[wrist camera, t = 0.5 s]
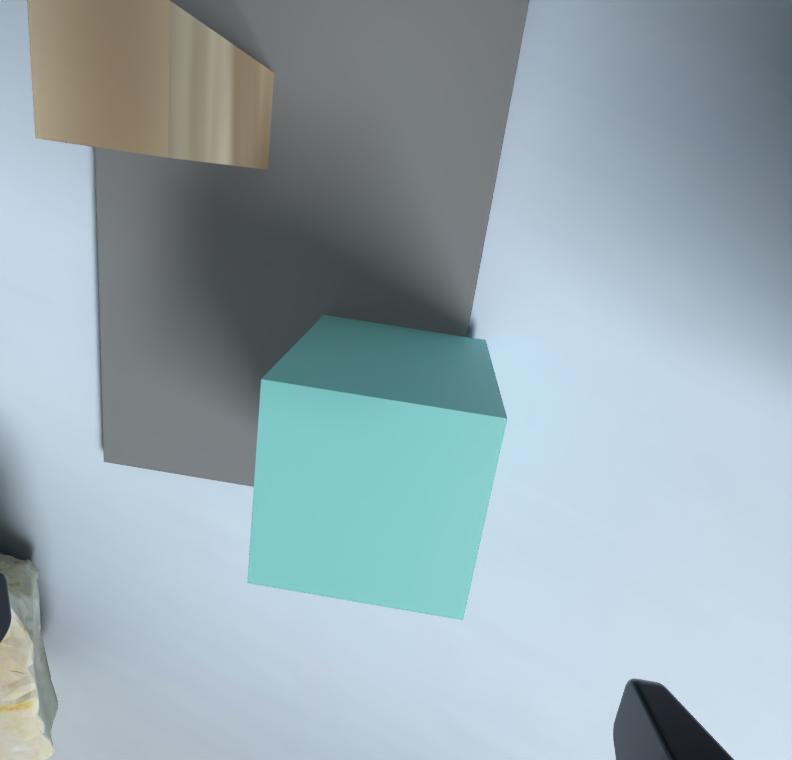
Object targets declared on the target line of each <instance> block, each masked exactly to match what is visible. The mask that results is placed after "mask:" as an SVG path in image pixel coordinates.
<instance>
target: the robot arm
mask: <svg viewBox="0 0 792 760" xmlns="http://www.w3.org/2000/svg"><path fill="white" fill-rule="evenodd" d="M11 619H12V614H11V607H10V599H9V592H8V584H7V579H6V577H5V576H4V574H3V573H1V572H0V643H1V642H2V640H3V639H4V637H5V636H6V634H7V632H8V630H9V627H10V624H11ZM613 739H614V747H615V754H616V760H734V759H733V758H732V757H731V756H730V755H729V754H728V753H727V752H726V751H725V750H724V749H723V747H722V746H721V745H720V744H719V743H718V742H717V741H716V740H715V739H714V738H713V737H712V736H711V735H710V734H709V733H708V732H707V731H706V730H705V728H704V727H703V726H702V725H701V724H700V723H699V722H698V721H697V720H696V719H695V718H694V717H693V716H692V715H691V714H690V713H689V712H688V711H687V709H686V708H685V707H684V706H683V705H682V704H681V703H680V702H679V701H678V700H677V699H676V698H675V697H674V696H673V695H672V694H671V693H670V692H669V690H668V689H667V688H665V687H664V686H663V685H662V684H660V683H657V682H653V681H647V680H641V679H631V680H629V681H628V682H627V684H626V686H625V689H624V693H623V696H622V699H621V702H620V706H619V709H618V712H617V715H616V718H615V722H614V728H613Z"/></svg>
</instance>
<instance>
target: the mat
mask: <svg viewBox="0 0 792 760" xmlns="http://www.w3.org/2000/svg"><path fill="white" fill-rule="evenodd" d="M170 1H171V2H173V3H174V4H176V5H177V6H179V7H180V8H181V9H183V10H184V11H186V12H187V13H189V14H190V15H192V16H193V17H194V18H196V19H197V20H199V21H200V22H202V23H203V24H205V25H206V26H207V27H209V28H210V29H212V30H213V31H215V32H216V33H217V34H219V35H220V36H222V37H223V38H225V39H226V40H228V41H229V42H230V43H232V44H233V45H235V46H236V47H238V48H239V49H241V50H242V51H243V52H245V53H246V54H248V55H249V56H251V57H252V58H253V59H255V60H256V61H258V62H259V63H261V64H262V65H264V66H265V67H266V68H268V69H269V70H271V71H272V72H274V81H273V97H272V113H271V129H270V144H269V160H268V170H266V169H257V168H249V167H241V166H232V165H224V164H216V163H207V162H199V161H191V160H182V159H174V158H166V157H160V156H153V155H146V154H139V153H133V152H126V151H119V150H112V149H106V148H99V147H95V167H96V202H97V237H98V272H99V308H100V343H101V378H102V414H103V449H104V462H109V463H115V464H121V465H127V466H133V467H139V468H145V469H151V470H157V471H163V472H169V473H175V474H181V475H187V476H193V477H199V478H205V479H211V480H217V481H223V482H229V483H235V484H241V485H247V486H253V487H254V478H255V463H256V448H257V433H258V419H259V404H260V389H261V379H262V378H263V377H264V376H265V375H266V374H267V373H268V372H269V371H270V370H271V369H272V368H273V367H274V366H275V364H276V363H277V362H278V361H279V360H280V359H281V358H282V357H283V356H284V355H285V354H286V353H287V352H288V351H289V350H290V349H291V348H292V347H293V346H294V345H295V344H296V343H297V342H298V341H299V340H300V339H301V338H302V337H303V336H304V335H305V334H306V333H307V332H308V331H309V330H310V329H311V327H312V326H313V325H314V324H315V323H316V322H317V321H318V320H319V319H320V318H321V317H322V316H323V315H328V316H334V317H341V318H347V319H354V320H360V321H366V322H373V323H379V324H386V325H392V326H398V327H405V328H411V329H418V330H424V331H431V332H437V333H443V334H450V335H456V336H463V337H467V333H468V327H469V322H470V316H471V311H472V306H473V300H474V295H475V289H476V284H477V279H478V273H479V268H480V262H481V257H482V252H483V246H484V241H485V235H486V230H487V225H488V219H489V214H490V209H491V203H492V198H493V192H494V187H495V182H496V176H497V171H498V165H499V160H500V155H501V149H502V144H503V138H504V133H505V128H506V122H507V117H508V112H509V106H510V101H511V95H512V90H513V85H514V79H515V74H516V68H517V63H518V58H519V52H520V47H521V41H522V36H523V31H524V25H525V20H526V15H527V9H528V4H529V0H170Z"/></svg>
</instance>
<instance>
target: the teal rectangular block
mask: <svg viewBox="0 0 792 760" xmlns="http://www.w3.org/2000/svg"><path fill="white" fill-rule="evenodd" d="M506 421H507V416H506V413H505V409H504V405H503V402H502V398H501V395H500V391H499V387H498V384H497V380H496V377H495V373H494V369H493V366H492V362H491V358H490V355H489V351H488V348H487V344H486V340H482V339H475V338H469V337H463V336H456V335H450V334H443V333H437V332H431V331H424V330H418V329H411V328H405V327H398V326H392V325H386V324H379V323H373V322H366V321H360V320H354V319H347V318H341V317H334V316H328V315H323V316H322V317H321V318H320V319H319V320H318V321H317V322H316V323H315V324H314V325H313V326H312V327H311V329H310V330H309V331H308V332H307V333H306V334H305V335H304V336H303V337H302V338H301V339H300V340H299V341H298V342H297V343H296V344H295V345H294V346H293V347H292V348H291V349H290V350H289V351H288V352H287V353H286V354H285V355H284V356H283V357H282V358H281V359H280V360H279V361H278V362H277V363H276V364H275V366H274V367H273V368H272V369H271V370H270V371H269V372H268V373H267V374H266V375H265V376H264V377H263V378H262V379H261V389H260V404H259V419H258V433H257V448H256V463H255V478H254V493H253V508H252V523H251V538H250V552H249V567H248V582H247V583H250V584H256V585H262V586H268V587H273V588H279V589H285V590H291V591H297V592H303V593H308V594H314V595H320V596H326V597H332V598H338V599H343V600H349V601H355V602H361V603H367V604H372V605H378V606H384V607H390V608H396V609H402V610H407V611H413V612H419V613H425V614H431V615H437V616H442V617H448V618H454V619H460V620H463V617H464V613H465V608H466V604H467V599H468V594H469V590H470V585H471V581H472V576H473V572H474V567H475V563H476V558H477V553H478V549H479V544H480V540H481V535H482V531H483V526H484V522H485V517H486V513H487V508H488V503H489V499H490V494H491V490H492V485H493V481H494V476H495V472H496V467H497V462H498V458H499V453H500V449H501V444H502V440H503V435H504V431H505V426H506Z"/></svg>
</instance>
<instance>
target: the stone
mask: <svg viewBox="0 0 792 760" xmlns="http://www.w3.org/2000/svg"><path fill="white" fill-rule="evenodd" d="M0 572H1V573H3V574H4V576H5V577H6V579H7V584H8V592H9V599H10V607H11V614H12V619H11V624H10V627H9V630H8V632H7V634H6V636H5V637H4V639H3V640H2V642H1V643H0V760H45V759H46V758H48V757H50V756H51V755H52V753H53V752H54V751H53V743H52V740H51V729H52V724H53V721H54V719H55V717H56V713H57V709H58V701H57V697H56V694H55V691H54V687H53V684H52V681H51V675H50V671H49V667H48V662H47V658H46V653H45V648H44V642H43V638H42V633H41V624H40V606H39V601H40V597H39V589H38V584H37V580H38V576H39V574H38V569H37V568H36V567H35V566H34V564H33V563H32V562H31V561H30V560H20V559H16V558H15V557H13V556H10V555H3V554H2V553H0Z"/></svg>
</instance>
